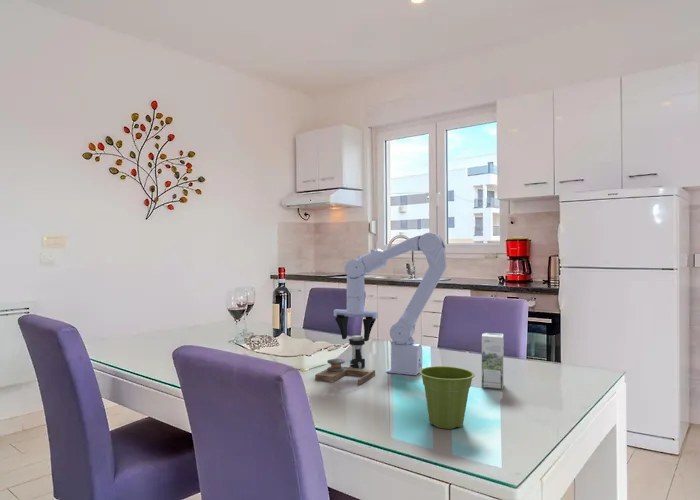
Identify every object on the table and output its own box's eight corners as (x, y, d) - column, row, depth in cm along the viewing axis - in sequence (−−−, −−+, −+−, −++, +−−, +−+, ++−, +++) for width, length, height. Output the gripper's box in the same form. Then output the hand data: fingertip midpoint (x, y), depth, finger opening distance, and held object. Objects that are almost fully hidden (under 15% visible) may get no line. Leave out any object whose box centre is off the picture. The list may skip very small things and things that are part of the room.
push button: (353, 371, 154) (353, 338, 154) (342, 368, 158) (342, 336, 158) (368, 367, 159) (368, 336, 159) (357, 364, 163) (357, 334, 163)
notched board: (375, 375, 149) (375, 361, 149) (359, 385, 138) (359, 370, 138) (333, 370, 155) (333, 357, 155) (315, 379, 144) (315, 365, 144)
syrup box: (503, 384, 139) (503, 332, 139) (503, 390, 134) (503, 336, 134) (482, 382, 141) (482, 331, 141) (481, 388, 136) (481, 335, 136)
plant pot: (482, 433, 103) (482, 378, 103) (426, 434, 102) (426, 379, 102) (464, 413, 115) (464, 365, 115) (414, 415, 114) (414, 366, 114)
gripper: (329, 297, 158) (329, 339, 158) (372, 299, 152) (372, 343, 152) (339, 295, 164) (338, 336, 164) (380, 297, 158) (380, 339, 158)
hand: (355, 339), depth 159 cm, fingers open, 7 cm apart
